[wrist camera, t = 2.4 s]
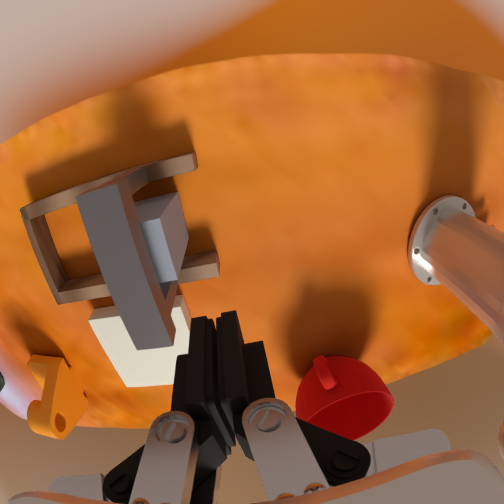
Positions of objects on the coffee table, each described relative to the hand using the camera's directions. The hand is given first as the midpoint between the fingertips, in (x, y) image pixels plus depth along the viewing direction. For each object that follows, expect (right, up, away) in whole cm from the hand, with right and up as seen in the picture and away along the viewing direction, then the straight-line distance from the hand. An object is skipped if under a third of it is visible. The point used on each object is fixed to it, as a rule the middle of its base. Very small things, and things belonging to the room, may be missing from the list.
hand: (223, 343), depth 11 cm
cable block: (-8, +7, +18) cm, 21 cm away
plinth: (-12, -8, +24) cm, 28 cm away
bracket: (-30, -17, +27) cm, 44 cm away
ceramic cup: (+12, -13, +29) cm, 34 cm away
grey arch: (-8, +5, +15) cm, 18 cm away
